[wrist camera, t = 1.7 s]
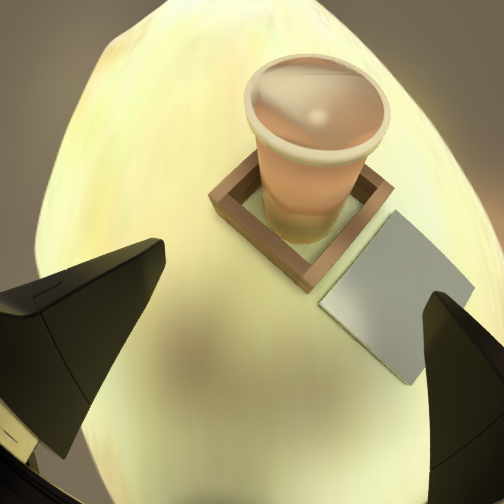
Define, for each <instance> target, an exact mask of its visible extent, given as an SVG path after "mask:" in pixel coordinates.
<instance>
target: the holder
mask: <svg viewBox="0 0 504 504" xmlns="http://www.w3.org/2000/svg"><path fill="white" fill-rule="evenodd" d="M261 185H262V184H261V175H260V167H259V159H258V152H257V149H256V150H255V151H254V152H253V153H252V154H251V155H250V156H249V157H247V158H246V159H245V160H244V161H243V162H242V163H241V164H240V165H239V166H238V167H237V168H235V169H234V170H233V171H232V172H231V173H230V174H229V175H228V176H227V177H226V178H225V179H224V180H223V181H222V182H221V183H220V184H219V185H217V186H216V187H215V188H214V189H213V190H212V191H211V192H210V193H209V194H208V196H209V198H210V200H211V202H212V204H213V206H214V208H215V210H216V212H217V213H218V214H219V215H220V216H221V217H222V218H223V219H224V220H226V221H227V222H228V223H229V224H230V225H231V226H232V227H233V228H235V229H236V230H237V231H238V232H239V233H240V234H241V235H242V236H244V237H245V238H246V239H247V240H248V241H249V242H250V243H251V244H253V245H254V246H255V247H256V248H257V249H258V250H259V251H260V252H262V253H263V254H264V255H265V256H266V257H267V258H268V259H269V260H271V261H272V262H273V263H274V264H275V265H276V266H277V267H278V268H279V269H281V270H282V271H283V272H284V273H285V274H286V275H287V276H288V277H290V278H291V279H292V280H293V281H294V282H295V283H296V284H297V285H298V286H300V287H301V288H302V289H303V290H304V291H305V292H306V293H307V294H308V293H309V292H310V291H311V290H312V289H313V287H314V286H315V285H316V284H317V283H318V282H319V281H320V280H321V278H322V277H323V276H324V275H325V274H326V273H327V271H328V270H329V269H330V268H331V267H332V266H333V265H334V263H335V262H336V261H337V260H338V259H339V257H340V256H341V255H342V254H343V253H344V252H345V250H346V249H347V248H348V247H349V246H350V244H351V243H352V242H353V241H354V240H355V238H356V237H357V236H358V235H359V233H360V232H361V231H362V230H363V229H364V227H365V226H366V225H367V224H368V222H369V221H370V220H371V219H372V217H373V216H374V215H375V214H376V212H377V211H378V210H379V208H380V207H381V206H382V205H383V203H384V202H385V201H386V199H387V198H388V197H389V195H390V194H391V193H392V191H393V190H394V189H395V188H394V187H393V186H392V185H390V184H389V183H388V182H387V181H386V180H384V179H383V178H382V177H381V176H379V175H378V174H377V173H376V172H374V171H373V170H372V169H371V168H369V167H368V166H367V165H366V164H364V165H363V167H362V169H361V171H360V174H359V176H358V178H357V180H356V182H355V184H354V186H353V188H352V190H351V193H350V194H352V195H353V196H354V197H355V198H356V199H358V200H359V201H360V202H361V203H362V204H364V206H363V207H362V208H361V209H360V210H359V212H358V213H357V214H356V215H355V216H354V218H353V219H352V220H351V221H350V222H349V223H348V225H347V226H346V227H345V228H344V229H343V231H342V232H341V233H340V234H339V235H338V236H337V238H336V239H335V240H334V241H333V242H332V243H331V244H330V246H329V247H328V248H327V249H326V250H325V251H324V252H323V254H322V255H321V256H320V257H319V258H318V259H317V260H316V262H315V263H314V264H313V265H312V266H311V265H310V264H309V263H308V262H307V261H305V260H304V259H303V258H302V257H301V256H300V255H299V254H297V253H296V252H295V251H294V250H293V249H292V248H291V247H289V246H288V245H287V244H286V243H285V242H284V241H282V240H281V239H280V238H279V237H278V236H277V235H276V234H274V233H273V232H272V231H271V230H270V229H269V228H267V227H266V226H265V225H264V224H263V223H262V222H260V221H259V220H258V219H257V218H256V217H255V216H253V215H252V214H251V213H250V212H249V211H247V210H246V209H245V208H244V207H243V206H242V205H241V204H242V203H243V202H244V201H245V200H246V199H247V198H248V197H249V196H250V195H251V194H252V193H253V192H254V191H255V190H256V189H258V188H259V187H260V186H261Z"/></svg>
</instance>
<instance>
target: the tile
mask: <svg viewBox="0 0 504 504" xmlns="http://www.w3.org/2000/svg"><path fill="white" fill-rule="evenodd" d="M474 288H475V287H474V286H473V285H472V284H471V283H470V282H469V281H468V279H467V278H466V277H465V276H464V275H463V274H462V273H461V272H460V271H459V270H458V269H457V268H456V267H455V266H454V265H453V264H452V263H451V262H450V260H449V259H448V258H447V257H446V256H445V255H444V254H443V253H442V252H441V251H440V250H439V249H438V248H437V247H436V246H435V245H434V244H432V243H431V242H430V241H429V240H428V239H427V238H426V237H425V236H424V235H423V234H422V233H421V232H420V231H419V230H418V229H417V228H416V227H415V226H413V225H412V224H411V223H410V222H409V221H408V220H407V219H406V218H405V217H404V216H402V215H401V214H400V213H399V212H398V211H397V210H396V209H395V211H394V212H393V213H392V214H391V215H390V217H389V218H388V219H387V221H386V222H385V223H384V224H383V226H382V227H381V228H380V230H379V231H378V232H377V234H376V235H375V236H374V237H373V239H372V240H371V241H370V242H369V244H368V245H367V246H366V248H365V249H364V250H363V251H362V252H361V254H360V255H359V256H358V257H357V259H356V260H355V261H354V262H353V264H352V265H351V266H350V267H349V268H348V270H347V271H346V272H345V273H344V274H343V276H342V277H341V278H340V279H339V280H338V282H337V283H336V284H335V285H334V286H333V287H332V289H331V290H330V291H329V292H328V293H327V294H326V295H325V297H324V298H323V299H322V300H321V301H320V302H319V303H318V305H319V306H320V307H321V308H322V309H323V310H324V311H325V312H327V313H328V314H329V315H330V316H331V317H332V318H333V319H334V320H335V321H337V322H338V323H339V324H340V325H341V326H342V327H343V328H344V329H345V330H347V331H348V332H349V333H350V334H351V335H352V336H353V337H354V338H355V339H356V340H358V341H359V342H360V343H361V344H362V345H363V346H364V347H365V348H366V349H368V350H369V351H370V352H371V353H372V354H373V355H374V356H375V357H376V358H378V359H379V360H380V361H381V362H382V363H383V364H384V365H385V366H386V367H387V368H389V369H390V370H391V371H392V372H393V373H394V374H395V375H396V376H397V377H398V378H400V379H401V380H402V381H403V382H404V383H405V384H407V385H409V386H411V385H412V384H413V382H414V381H415V380H416V378H417V377H418V376H419V375H420V373H421V372H422V371H423V369H424V368H425V359H424V341H423V321H422V314H423V310H424V308H425V306H426V304H427V302H428V300H429V298H430V296H431V294H432V292H433V291H441V292H445V293H446V294H447V295H448V296H450V297H451V298H452V299H453V300H454V301H455V302H456V303H458V304H459V305H460V306H461V307H462V308H464V307H465V305H466V303H467V301H468V299H469V298H470V296H471V294H472V292H473V290H474Z"/></svg>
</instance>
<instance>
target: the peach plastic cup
mask: <svg viewBox="0 0 504 504" xmlns="http://www.w3.org/2000/svg"><path fill="white" fill-rule="evenodd" d="M244 105H245V111H246V117H247V121H248V124H249V127H250V128H251V130H252V132H253V134H254V135H255V136H256V144H257V152H258V159H259V167H260V175H261V184H262V192H263V200H264V208H265V216H266V219H267V222H268V224H269V225H270V227H271V229H272V230H273V231H274V232H275V233H276V234H277V235H278V236H280V237H281V238H283V239H285V240H287V241H289V242H293V243H298V244H308V243H313V242H316V241H318V240H320V239H322V238H324V237H325V236H326V235H327V234H328V233H329V232H330V231H331V230H332V228H333V227H334V225H335V223H336V221H337V219H338V217H339V215H340V213H341V211H342V209H343V207H344V205H345V203H346V201H347V199H348V197H349V195H350V193H351V190H352V188H353V186H354V184H355V182H356V180H357V178H358V176H359V174H360V171H361V169H362V167H363V165H364V163H365V161H366V158H367V156H369V155H370V154H371V153H373V152H374V151H375V150H376V148H377V147H378V146H379V144H380V143H381V141H382V139H383V137H384V135H385V133H386V131H387V128H388V126H389V122H390V107H389V103H388V100H387V98H386V96H385V94H384V92H383V90H382V89H381V87H380V86H379V85H378V84H377V83H376V81H375V80H374V79H373V78H371V77H370V76H369V75H368V74H367V73H365V72H364V71H363V70H361V69H360V68H358V67H356V66H355V65H352V64H350V63H348V62H346V61H343V60H341V59H338V58H334V57H331V56H326V55H319V54H296V55H289V56H285V57H282V58H279V59H276V60H273V61H271V62H269V63H267V64H266V65H264V66H263V67H261V68H260V69H259V70H258V71H256V72H255V74H254V75H253V76H252V77H251V79H250V80H249V82H248V84H247V86H246V88H245V93H244Z"/></svg>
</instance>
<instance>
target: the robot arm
mask: <svg viewBox="0 0 504 504" xmlns="http://www.w3.org/2000/svg"><path fill="white" fill-rule="evenodd" d="M165 264H166V257H165V244H164V241H163V240H162V239H157V238H149V239H147V240H144V241H141V242H138V243H135V244H132V245H130V246H127V247H124V248H121V249H118V250H116V251H113V252H110V253H107V254H105V255H102V256H99V257H97V258H94V259H91V260H89V261H86V262H83V263H81V264H78V265H76V266H73V267H70V268H68V269H67V270H63V271H60V272H57V273H55V274H52V275H50V276H47V277H44V278H41V279H39V280H36V281H33V282H30V283H27V284H24V285H21V286H18V287H15V288H12V289H9V290H6V291H3V292H0V504H85V503H83V502H81V501H79V500H78V499H76V498H74V497H73V496H71V495H70V494H68V493H66V492H65V491H63V490H62V489H60V488H59V487H57V486H56V485H54V484H53V483H51V482H50V481H48V480H47V479H45V478H44V477H43V476H41V475H40V473H39V469H38V465H37V461H36V457H35V453H34V450H35V448H36V447H37V445H38V443H39V444H41V445H42V446H44V447H45V448H46V449H48V450H50V451H51V452H52V453H54V454H55V455H57V456H59V457H60V458H62V459H63V460H64V459H65V458H66V456H67V454H68V451H69V450H70V447H71V445H72V443H73V441H74V439H75V437H76V435H77V433H78V431H79V429H80V427H81V425H82V423H83V421H84V419H85V417H86V415H87V413H88V411H89V409H90V407H91V406H90V405H92V403H93V401H94V399H95V397H96V395H97V393H98V391H99V389H100V387H101V385H102V384H103V382H104V380H105V378H106V376H107V374H108V372H109V371H110V369H111V367H112V365H113V363H114V361H115V360H116V358H117V356H118V354H119V352H120V351H121V349H122V347H123V345H124V344H125V342H126V340H127V338H128V337H129V335H130V333H131V331H132V330H133V328H134V326H135V325H136V323H137V321H138V319H139V318H140V316H141V314H142V313H143V311H144V309H145V308H146V306H147V304H148V302H149V300H150V298H151V296H152V294H153V292H154V289H155V287H156V285H157V283H158V281H159V279H160V276H161V274H162V272H163V270H164V268H165ZM422 321H423V341H424V359H425V368H426V377H427V388H428V401H429V419H430V472H429V490H428V503H427V504H504V347H503V346H502V345H501V344H500V343H499V342H498V341H497V340H496V339H495V338H494V337H493V336H492V335H491V334H490V333H489V332H488V331H487V330H486V329H485V328H484V327H483V326H482V325H480V324H479V323H478V322H477V321H476V320H475V319H474V318H473V317H472V316H471V315H470V314H469V313H468V312H466V311H465V310H464V309H463V308H462V307H461V306H460V305H459V304H458V303H456V302H455V301H454V300H453V299H452V298H451V297H450V296H448V295H447V294H446V293H445V292H441V291H433V292H432V294H431V296H430V298H429V300H428V302H427V304H426V306H425V308H424V310H423V314H422Z"/></svg>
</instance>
